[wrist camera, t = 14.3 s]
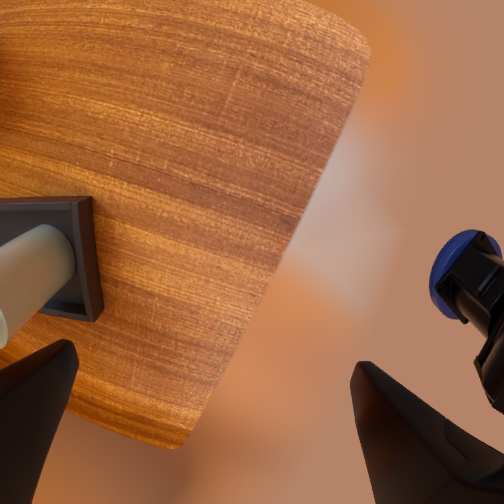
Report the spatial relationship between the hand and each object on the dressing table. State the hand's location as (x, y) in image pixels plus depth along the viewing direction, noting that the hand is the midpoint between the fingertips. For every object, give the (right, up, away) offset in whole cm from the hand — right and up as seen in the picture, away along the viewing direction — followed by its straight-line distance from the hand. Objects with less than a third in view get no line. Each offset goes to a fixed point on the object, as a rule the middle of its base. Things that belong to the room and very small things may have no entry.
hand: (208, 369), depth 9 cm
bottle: (-15, +3, +12) cm, 19 cm away
